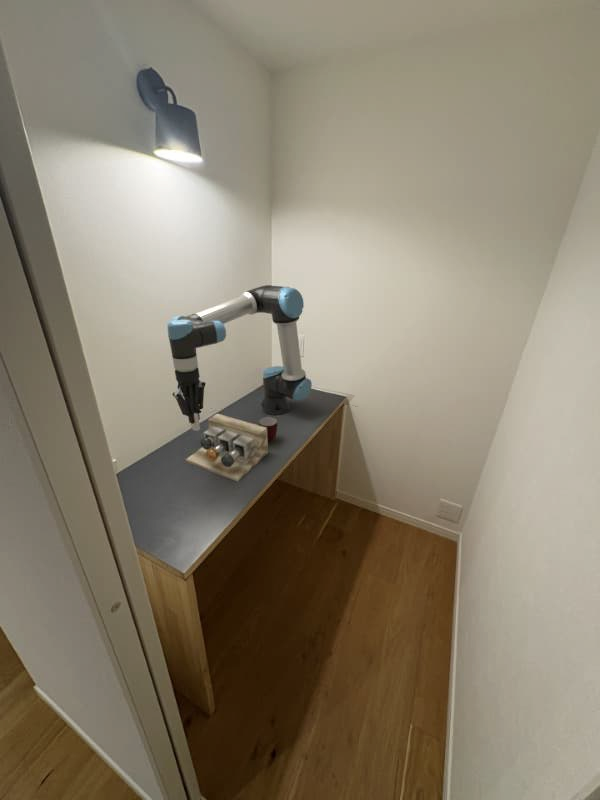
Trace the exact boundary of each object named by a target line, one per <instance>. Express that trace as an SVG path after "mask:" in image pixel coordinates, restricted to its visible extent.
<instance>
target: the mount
mask: <svg viewBox="0 0 600 800" xmlns="http://www.w3.org/2000/svg"><path fill="white" fill-rule="evenodd" d="M207 421H208V422H207V423H208V428H207V429H206V430H205V431H204V432H203V437H204V438H205V437H206V438H207V437H209V436H212V437H214V444H212V447H211V448H209V449H213V448H215V447H216V446H217V445H218V444H220V443H221V442H222V441H225V442H227V443H228V445H229V448H228V449H227V450H225V451H224V452H223V453H222V454H220V455H219V456H218V459H217V460H215V461H214V462H212V461H210V460H209V459H208V458H207V457H206V452H207V451H208V450H209V449H208V450H206V449H204V448H203V447H202V446H201V448H199V449H198V450H196V451H195V452H194V453H192V454H191V455H190V456H188V457H186V459H185V462H186V463H188V464H191V465H194V466H196V467H199V468H201V469H204V470H206V471H209V472H212V473H214V474H217V475H219V476H221V477H225V478H227V479H230V480H232V481H235V482H239V481H240V480H242V478H243V477H245V475H246V474H248V473H249V471H251V470H252V469H253V468H254V467H255V465H257V464H259V462H260V461H261V460H262V459H263V458H264V457H265V456H266V455H267V454H269V446H268V445H269V443H268V439H267V428H266V427H263V426H259V424H255V423H251V422H249V421H245V420H241V419H237V418H233V417H230V416H227V415H224V414H220V413H216V414H214V415H213V416H211V417H209V418H208V419H207ZM237 446H241V447H242V448H243V450H244V453H243V454H242V455H241V456H240V457H239V458H237V459H236V460H235V461H234V464H233V465H232V466H231V467H226V466H224V465H223V463H222V461H221V458H222V457H223V456H224V455H225V454H229V453H230V452H231V451H232V450H234V449H235V448H236V447H237Z"/></svg>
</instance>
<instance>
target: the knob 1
mask: <svg viewBox="0 0 600 800" xmlns="http://www.w3.org/2000/svg"><path fill="white" fill-rule="evenodd" d="M199 444H200V445H201V448H202V447H203V448H204V449H206V450H208V449H209V448H211V447H212V444H214V437H212V436H209V437H207V438H206V437H205V438H202V439H200V443H199Z"/></svg>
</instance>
